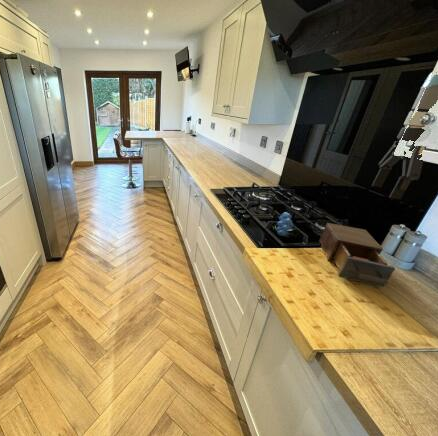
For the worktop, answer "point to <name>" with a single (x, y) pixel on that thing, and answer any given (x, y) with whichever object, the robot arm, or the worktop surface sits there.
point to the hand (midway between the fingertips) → (384, 192)
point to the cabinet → (345, 239)
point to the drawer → (362, 264)
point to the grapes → (284, 224)
